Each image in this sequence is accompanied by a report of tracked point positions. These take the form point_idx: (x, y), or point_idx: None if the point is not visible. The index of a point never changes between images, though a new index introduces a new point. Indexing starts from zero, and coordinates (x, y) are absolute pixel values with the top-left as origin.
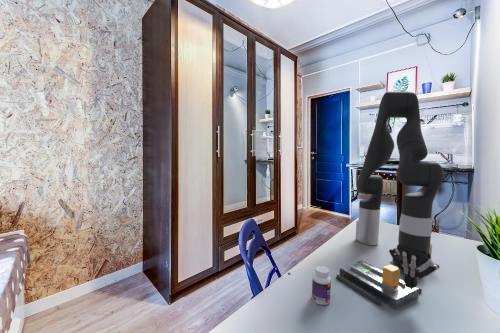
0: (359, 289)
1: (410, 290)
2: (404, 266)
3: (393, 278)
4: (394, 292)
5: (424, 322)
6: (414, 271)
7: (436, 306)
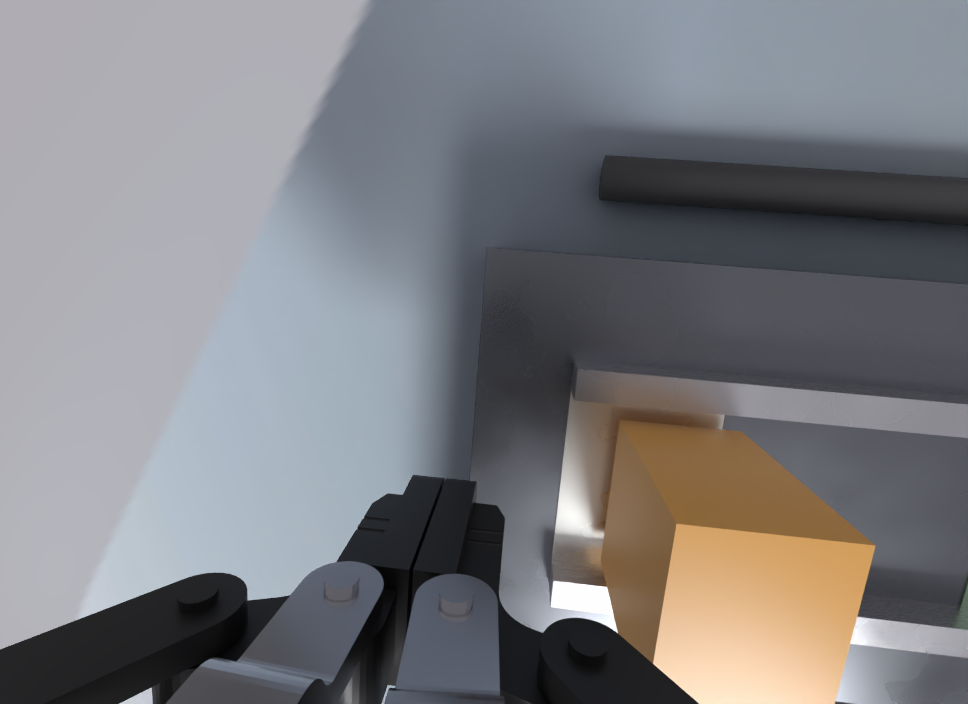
0: (867, 179)
1: None
2: (483, 699)
3: (637, 494)
4: (562, 371)
5: (296, 298)
6: (257, 655)
7: None
